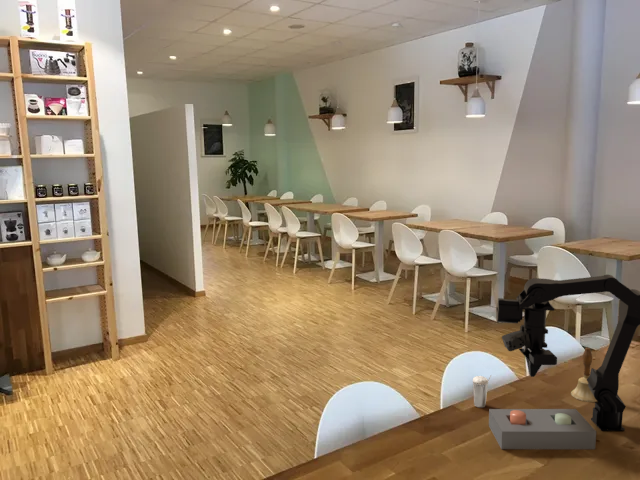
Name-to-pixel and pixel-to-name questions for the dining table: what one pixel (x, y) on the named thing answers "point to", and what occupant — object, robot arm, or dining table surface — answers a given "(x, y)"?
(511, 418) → the terracotta plug
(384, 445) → the dining table surface
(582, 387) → the hand bell
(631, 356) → the dining table surface
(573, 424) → the console
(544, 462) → the dining table surface
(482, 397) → the milkshake
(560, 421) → the sage plug
